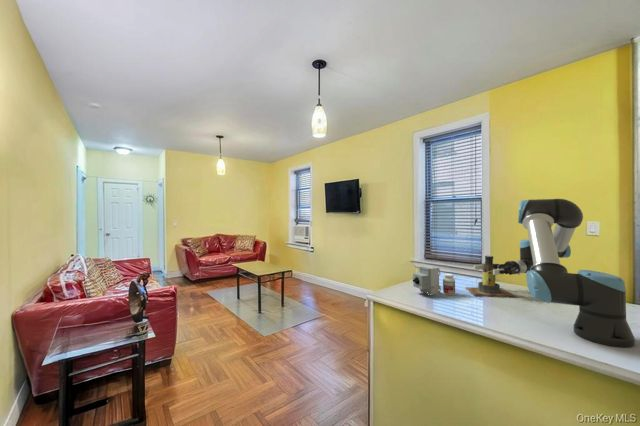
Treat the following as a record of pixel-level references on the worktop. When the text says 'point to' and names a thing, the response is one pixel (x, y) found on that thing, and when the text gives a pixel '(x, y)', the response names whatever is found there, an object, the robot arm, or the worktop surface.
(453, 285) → the pill bottle
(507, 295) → the bottle holder
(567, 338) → the worktop surface
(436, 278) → the circuit breaker
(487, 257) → the sauce bottle
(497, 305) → the worktop surface
